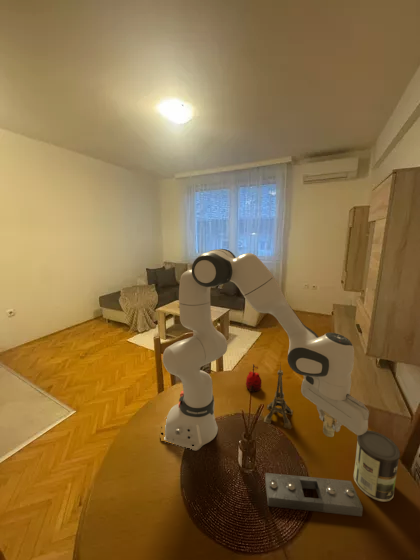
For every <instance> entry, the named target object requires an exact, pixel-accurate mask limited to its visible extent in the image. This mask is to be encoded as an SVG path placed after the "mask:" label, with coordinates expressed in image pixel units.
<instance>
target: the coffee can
mask: <svg viewBox="0 0 420 560" xmlns="http://www.w3.org/2000/svg"><path fill="white" fill-rule="evenodd" d="M356 439H357V441H356V442H357V443H356V452H355V463H354V470H353V480H354V482H355V484H356V485H357V487H358V488H359V490H361V491H362V492H363V493H364V494H365V495H366V496H368V497H369V498H371V499H373V500H375V501H378V502H391V500H392V499H393V498H394V495H395V488H396V487H395V486H396V481H397V474H398V467H399V460H400V457H401V452H400V449H399V447H398V446H397V445H396V443H395V442H394V441H393V440H392V439H391V438H390V437H387V436H386V435H384V434H383V433H380V432H377V431H374V430H368V429H367V431H366V432H365V433H364V434H362V435H356Z"/></svg>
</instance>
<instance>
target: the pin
mask: <svg viewBox="0 0 420 560" xmlns="http://www.w3.org/2000/svg"><path fill="white" fill-rule="evenodd" d="M323 412H324V414H325V415H324V422H323V426H322V433H323V435H325V436H326V437H328V438H333V437H334V436H335V432H336V431H335V430H334V429H332V427H333V424H334V423H336V422H337V420H336V419H334V418H333V417H332V416H330V415H329V414H328V413H326V412H325V411H323Z"/></svg>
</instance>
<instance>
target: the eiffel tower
mask: <svg viewBox="0 0 420 560" xmlns="http://www.w3.org/2000/svg"><path fill="white" fill-rule="evenodd" d="M281 364H282V363H281V362H280V365H279V369H278V370H277V372H276V373H277V374H276V375H277V376H278V377H277V382H276V383H277V385H276V391H274V392H275V393H274V398H273V399H272V401H271V402H270V403H269V404H267V405H266V406H267V407H266V410H270V411H269V413H268V414H266V416H264V417H263V423H267V424H270V425H271V423H272V419H273V418H272V417H273V415H274V414H275V413H278V414H280V415H282V417H283V418H282V419H283V429H288V430H292V423H291V422H290V419H288V417H287V415H290V416H293V409H291V408H290V406H288V404H287V401H285V393H284V391H283V390H284V389H283V387H284V386H283V376H284V371H283V370H281V367H282V366H281ZM277 406H278V407H277Z"/></svg>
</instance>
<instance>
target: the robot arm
mask: <svg viewBox="0 0 420 560" xmlns="http://www.w3.org/2000/svg"><path fill="white" fill-rule="evenodd" d="M230 282H231V283H233V284H235V286H236V287H237V288H238V289H239V291H240V293H241V294H242V295H243V297H244V299H245V300H246V302H247V303H248V304H249V305H250V306H251V308H252V309H253V310H255V311H256V312H257V313H261V314H269V315H271V316H273V317H274V318H275V319H276V320H277V321H278V323H279V324H280V325H281V327H282V328H283V330H284V331H285V332H286V334H287V337H288V340H289V341H288V342H289V347H288V351H287V364H288V366H289V367H290V368H291V370H292V371H293V372H295V374H299V375H301V376H303V380H302V383H301V387H300V388H301V389H300V392H301V394H302V397H304V398H306V399H307V401H310V402H311V403H313V404H314V405H315V406H316V410H317V412H318V415H319V417H318V419H320V420H321V421H322V422H323V423H324V415H325V414H324V412H323V411H325V412H326V413H328V414H329V415H330V416H332V417H333V418H334V419H336V422H335V423H334V424H333V427H332V429H334V430H335V431H334V432H336V433H339V432H340V430H341V426H344V427H345V428H346V429H348V430H349V431H350V432H352V433H354V434H355V435H356V436H358V435H362V434H364V433H365V432H366V431H367V430H368V429H369V416H370V411H369V409H368V408H367V407H366V406H365V403H364V402H362V401H361V400H357V398H355V397H353V395H351V386H352V376H351V375H352V371H353V369H354V363H355V349H354V344H353V343H352V342H351V341H350V339H349V338H348V337H345V336H344V335H342V334H339V333H336V332H326V333H324V335H323V334H322V335H321V336H319V335H318V334H317V333H316V332H315V331H314V330H312V329H311V328H309V327H308V326H306V324H304V323H303V322H302V320H301V319H300V317H299V316H298V315H297V313H296V312H295V311H294V309H293V307H291V305H290V304H289V303H288V300H287V299H286V297H285V295H284V293H283V290H282V289H281V287H280V285H279V283H278V281H277V280H276V278H275V277H274V276H273V274H272V273H271V270H269V269H268V267H267V266H266V265H265V263H263V261H262V260H261V259H260V258H259V257H258V256H257V255H255V254H254V253H252V252H247V253H243V254H240V255H237V257H236V256H235V254H234V253H233V252H232V251H230V250H228V249H225V248H219V249H218V248H217V249H211V250H209V251H207V252H204V253H202V254H200V255H198V256H197V257H196V258H195V259H194V261H193V263H192V266H191V269H188V270H186V271H184V272H183V273H182V274H181V275H180V279H179V289H178V304H179V305H178V307H179V310H178V311H179V322H180V323H181V325H182V327H184V328H186V329H187V330H191V331H192V333H193V335H192V336H190V337H188V338H184V339H182V340H178V341H175V342H174V343H173V344H172V343H171V345H169V346H167V347H166V348H165V349H164V351H163V354H162V363H163V367H164V368H165V370H166V371H167V373H169V374H171V375H174V376H175V377H178V378H179V379H180V381H181V384H182V389H183V390H181V391H180V393H179V399H178V403H177V404H174V405H173V406H172V407H171V408H170V410H169V411H168V413H167V415H166V417H167V419H166V425H165V437H164V440H166V441H168V442H171V443H174V444H176V445H175V446H177V445H179V446H178V447H180V446H182V448H184V447H186V448H185V449H187V448H190V449H189V450H191V449H192V451H195V452H196V451H200V449H201V448H202V447H203V446H204V445H206V444H208V443H210V442H211V441H213V440H214V439H215V437H216V436H217V434H218V430H219V428H218V424H217V422H216V418H215V417H216V416H215V398H214V396H215V395H214V393H213V380H212V377H211V375H210V374H209V373H208V372H206V371H204V370H201V368H202V367H203V366H206V365H207V364H210V363H213V362H214V361H217V360H219V359H220V358H221V357H223V356H224V355H225V354H226V353H227V352H228V351H227V350H228V342H227V341H228V340H227V339H226V337H225V335H224V333H221V332H220V331H219V330H217V329H216V328H215V325H214V323H213V320H212V310H211V307H212V306H211V288H213V287H218V286H222V285H225V284H229V283H230ZM192 445H194V446H192Z"/></svg>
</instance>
